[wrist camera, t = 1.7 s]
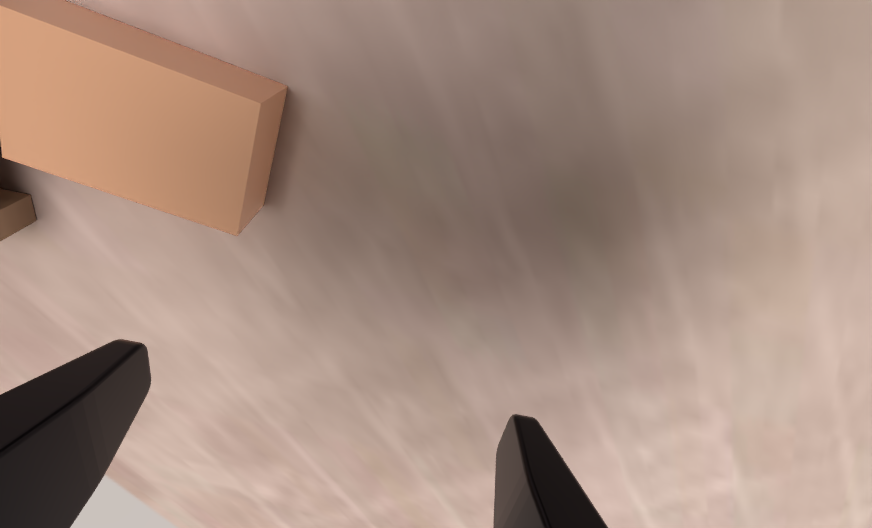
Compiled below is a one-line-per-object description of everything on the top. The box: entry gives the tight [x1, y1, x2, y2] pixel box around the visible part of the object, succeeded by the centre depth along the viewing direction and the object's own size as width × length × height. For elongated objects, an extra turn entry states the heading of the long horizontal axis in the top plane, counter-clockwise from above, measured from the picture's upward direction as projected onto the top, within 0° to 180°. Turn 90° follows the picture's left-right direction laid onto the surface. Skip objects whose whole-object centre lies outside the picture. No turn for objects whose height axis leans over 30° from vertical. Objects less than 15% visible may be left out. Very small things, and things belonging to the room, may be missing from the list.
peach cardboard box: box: [0, 0, 288, 236], centre depth 17 cm, size 8×5×3 cm, turn 69°
